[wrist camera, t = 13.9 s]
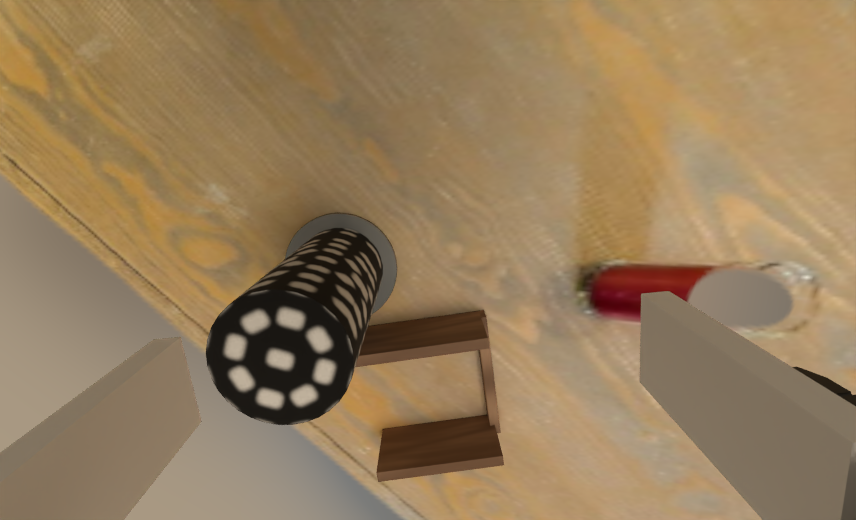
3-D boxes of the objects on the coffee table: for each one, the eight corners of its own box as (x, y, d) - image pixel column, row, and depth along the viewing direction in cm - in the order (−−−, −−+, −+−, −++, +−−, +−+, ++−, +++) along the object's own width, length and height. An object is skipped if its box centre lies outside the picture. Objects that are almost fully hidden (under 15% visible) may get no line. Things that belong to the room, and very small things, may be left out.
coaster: (275, 221, 45) (273, 223, 45) (387, 205, 45) (386, 206, 44) (299, 326, 48) (297, 328, 47) (404, 311, 47) (404, 313, 47)
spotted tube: (289, 295, 46) (193, 403, 27) (310, 216, 44) (222, 270, 25) (370, 319, 47) (333, 440, 28) (393, 242, 45) (371, 313, 26)
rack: (363, 327, 48) (353, 356, 41) (483, 310, 47) (493, 337, 41) (384, 437, 51) (378, 481, 44) (497, 421, 51) (509, 464, 44)
